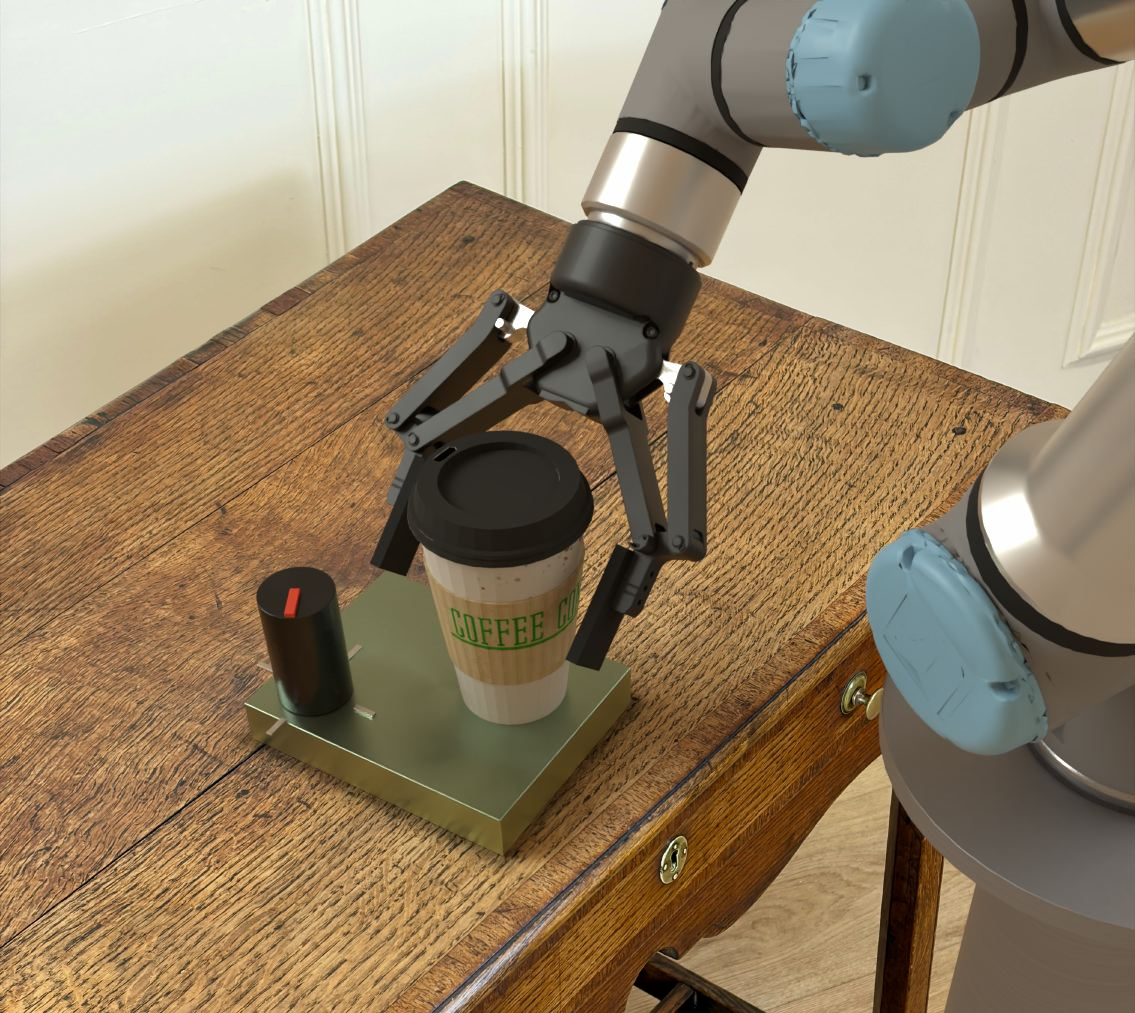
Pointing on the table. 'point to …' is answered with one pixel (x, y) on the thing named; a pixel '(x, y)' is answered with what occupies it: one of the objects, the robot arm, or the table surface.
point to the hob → (438, 724)
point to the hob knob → (305, 640)
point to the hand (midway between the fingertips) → (481, 617)
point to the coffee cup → (504, 565)
